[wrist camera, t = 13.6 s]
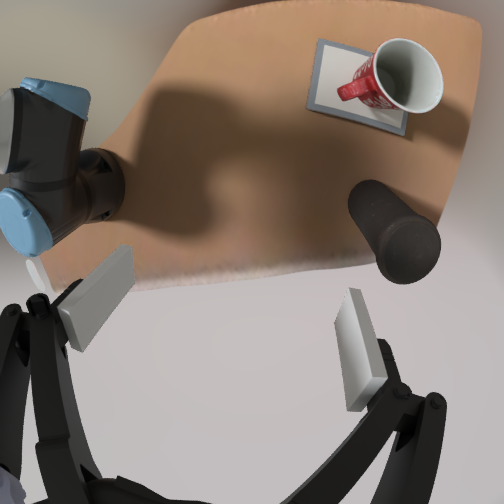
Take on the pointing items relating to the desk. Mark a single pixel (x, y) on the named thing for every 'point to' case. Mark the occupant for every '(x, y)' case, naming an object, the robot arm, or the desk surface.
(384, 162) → the desk surface
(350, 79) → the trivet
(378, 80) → the mug
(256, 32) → the desk surface
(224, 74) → the desk surface
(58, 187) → the robot arm
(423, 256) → the container
